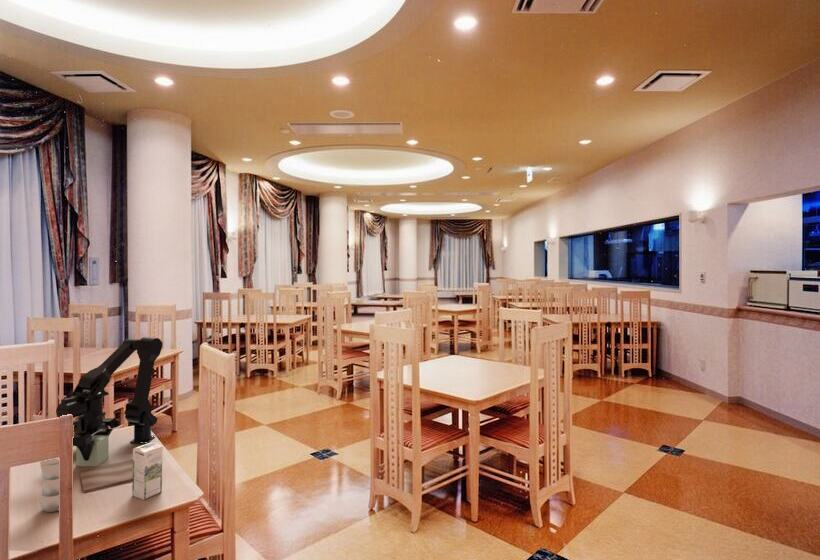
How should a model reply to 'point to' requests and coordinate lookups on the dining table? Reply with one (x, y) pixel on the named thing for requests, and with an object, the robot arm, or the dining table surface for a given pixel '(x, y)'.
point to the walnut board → (107, 475)
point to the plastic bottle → (50, 485)
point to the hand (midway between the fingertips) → (92, 456)
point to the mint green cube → (95, 452)
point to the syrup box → (147, 470)
